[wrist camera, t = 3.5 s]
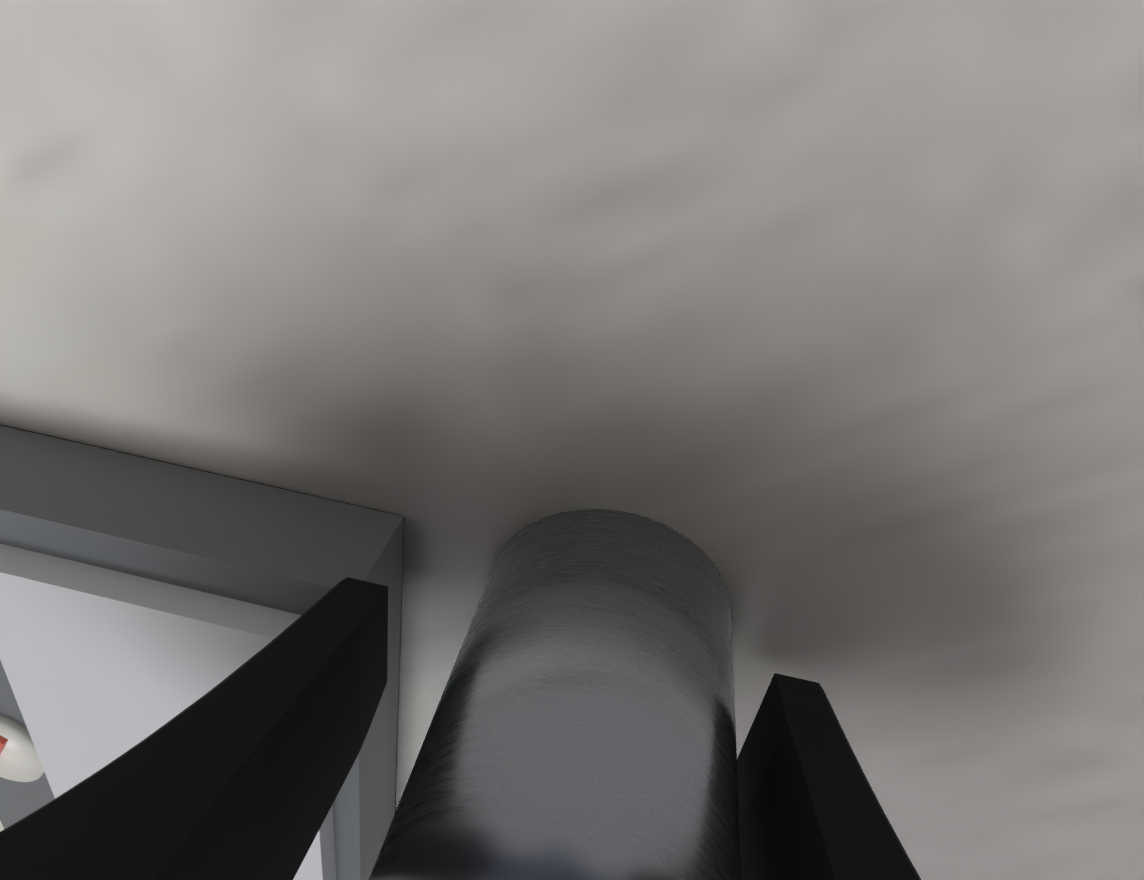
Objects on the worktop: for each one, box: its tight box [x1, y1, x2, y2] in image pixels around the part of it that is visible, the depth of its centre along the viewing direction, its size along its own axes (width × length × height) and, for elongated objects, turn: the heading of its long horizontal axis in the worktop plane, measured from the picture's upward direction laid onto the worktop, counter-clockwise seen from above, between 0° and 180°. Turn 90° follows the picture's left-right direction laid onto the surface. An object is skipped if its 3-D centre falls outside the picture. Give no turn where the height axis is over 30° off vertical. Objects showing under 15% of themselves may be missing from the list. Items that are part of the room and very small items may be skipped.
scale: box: [0, 425, 404, 880], centre depth 14 cm, size 8×12×2 cm, turn 172°
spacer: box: [369, 509, 741, 880], centre depth 10 cm, size 4×4×5 cm
